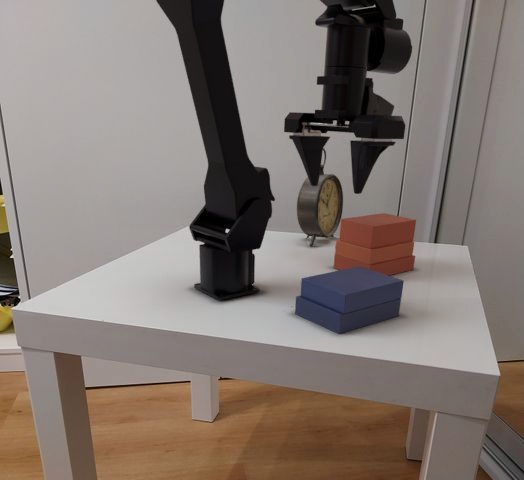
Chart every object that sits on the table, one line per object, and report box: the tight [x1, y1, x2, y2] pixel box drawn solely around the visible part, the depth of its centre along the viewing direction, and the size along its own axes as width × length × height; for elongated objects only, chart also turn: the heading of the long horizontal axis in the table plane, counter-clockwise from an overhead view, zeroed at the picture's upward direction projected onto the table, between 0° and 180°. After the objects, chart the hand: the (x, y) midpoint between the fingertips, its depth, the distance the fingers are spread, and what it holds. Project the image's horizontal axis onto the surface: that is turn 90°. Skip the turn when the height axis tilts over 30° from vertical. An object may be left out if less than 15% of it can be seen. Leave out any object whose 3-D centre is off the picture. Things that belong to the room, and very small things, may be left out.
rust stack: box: [333, 239, 416, 276], centre depth 81 cm, size 10×8×4 cm
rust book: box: [338, 212, 417, 249], centre depth 79 cm, size 10×6×3 cm
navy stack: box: [294, 266, 405, 335], centre depth 62 cm, size 10×8×4 cm
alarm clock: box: [296, 147, 344, 248], centre depth 94 cm, size 11×5×16 cm, turn 148°
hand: (335, 189), depth 77 cm, fingers open, 9 cm apart
